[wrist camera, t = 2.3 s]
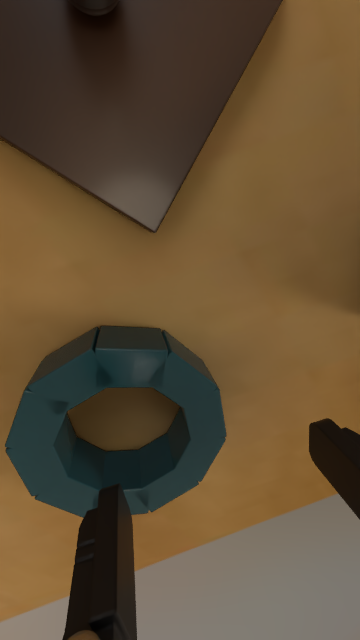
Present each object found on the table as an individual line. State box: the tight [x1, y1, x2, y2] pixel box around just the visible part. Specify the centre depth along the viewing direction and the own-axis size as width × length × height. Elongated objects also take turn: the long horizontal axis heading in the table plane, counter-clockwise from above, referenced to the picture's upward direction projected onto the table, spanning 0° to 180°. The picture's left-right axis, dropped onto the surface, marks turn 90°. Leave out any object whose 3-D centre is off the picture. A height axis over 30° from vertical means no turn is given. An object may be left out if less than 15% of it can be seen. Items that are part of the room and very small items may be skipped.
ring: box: [5, 326, 226, 518], centre depth 15 cm, size 11×11×3 cm
